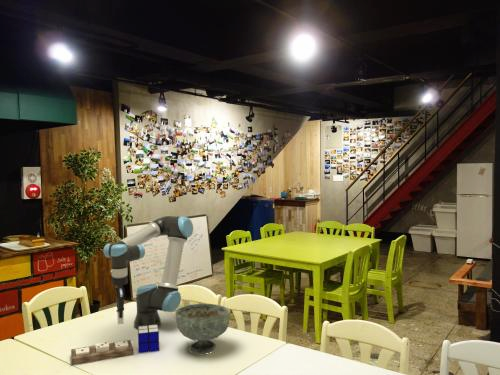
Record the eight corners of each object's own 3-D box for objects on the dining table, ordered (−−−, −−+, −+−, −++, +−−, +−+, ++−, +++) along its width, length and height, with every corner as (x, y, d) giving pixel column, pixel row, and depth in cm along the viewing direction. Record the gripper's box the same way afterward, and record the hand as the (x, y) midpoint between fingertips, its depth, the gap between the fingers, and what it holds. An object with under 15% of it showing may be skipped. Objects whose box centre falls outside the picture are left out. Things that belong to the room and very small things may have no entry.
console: (130, 345, 219) (130, 339, 219) (133, 354, 208) (133, 348, 208) (71, 355, 208) (71, 349, 208) (71, 365, 197) (71, 359, 197)
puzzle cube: (138, 353, 210) (138, 333, 209) (138, 345, 219) (137, 326, 219) (159, 351, 212) (158, 331, 212) (158, 343, 222) (157, 324, 222)
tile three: (108, 347, 212) (108, 341, 212) (109, 351, 207) (109, 345, 207) (95, 349, 210) (95, 343, 210) (96, 354, 204) (96, 347, 204)
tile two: (127, 346, 216) (126, 340, 216) (128, 350, 210) (128, 344, 210) (114, 348, 213) (114, 342, 213) (115, 352, 208) (115, 346, 208)
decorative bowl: (165, 355, 206) (166, 314, 206) (188, 336, 231) (189, 299, 230) (216, 364, 198) (218, 321, 198) (234, 343, 223) (236, 305, 222)
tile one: (89, 352, 209) (88, 346, 209) (89, 357, 203) (89, 351, 203) (75, 354, 206) (75, 348, 206) (75, 359, 201) (75, 353, 201)
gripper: (110, 274, 215) (111, 320, 216) (112, 280, 203) (114, 329, 204) (125, 272, 218) (126, 318, 219) (129, 278, 206) (130, 326, 207)
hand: (120, 323), depth 211 cm, fingers closed
